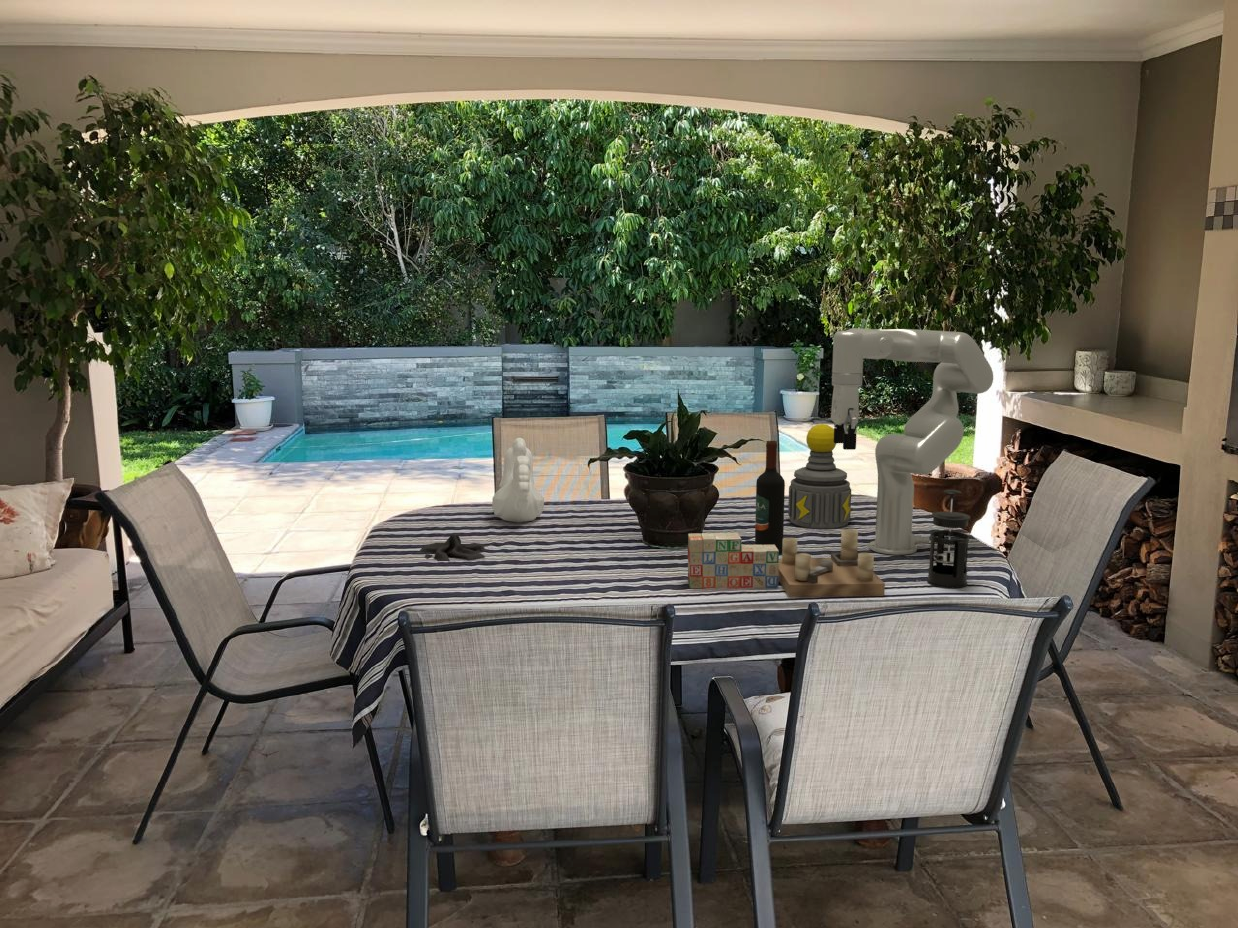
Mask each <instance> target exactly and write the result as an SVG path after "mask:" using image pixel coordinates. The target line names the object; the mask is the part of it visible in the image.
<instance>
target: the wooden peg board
mask: <svg viewBox="0 0 1238 928" xmlns="http://www.w3.org/2000/svg"><path fill="white" fill-rule="evenodd" d="M796 554H798V538H796V537H783V547H782V553H781V556H782V557H781V558H779V575H778V583H780V585H781V587H782V589H783V590H784V592H785V593H786V594H787V596H788V597H789V598H817V597H818V598H822V597H823V598H825V597H827V598H829V597H837V598H838V597H839V598H840V597H885V593H886V591H885V587H886V584H885V582H884V581H883V580H882V579H881V578H880V577H879V576H878V575H877V574H876V572H874V564H875V563H874V559H875V554H874V553H871V552H857V561H840V558H841V552H840V553H830V557H828V558H826V557H824V558H823V557H822V558H820V557H811V569H813V568H816V567H818V566H820V560H831V561H833V570H832V571H827V572H824V573H822V574H819V575H818V574H815V573H810V574H808V580H806V581H801V580H796V579H795V556H796Z"/></svg>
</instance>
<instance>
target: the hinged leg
mask: <svg viewBox="0 0 1238 928" xmlns="http://www.w3.org/2000/svg"><path fill="white" fill-rule="evenodd" d="M811 558H812V554H809V553H797V554H796V556H795V579H796V580H801V581H806V580H808V574H810V573H815V574H818V575H819V574H822V573H824V572H827V571H832V570H833V561H831V560H820V566H818V567H816V568H813V569H811Z"/></svg>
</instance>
